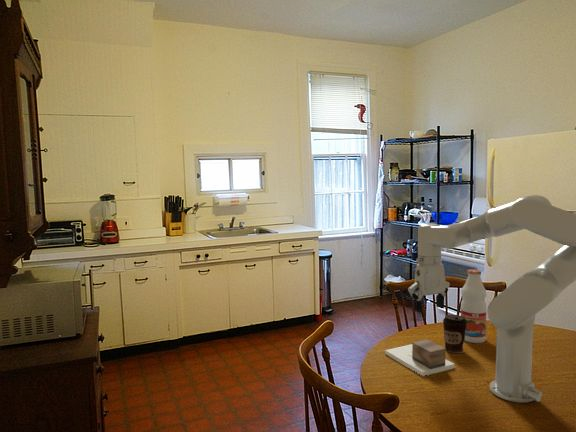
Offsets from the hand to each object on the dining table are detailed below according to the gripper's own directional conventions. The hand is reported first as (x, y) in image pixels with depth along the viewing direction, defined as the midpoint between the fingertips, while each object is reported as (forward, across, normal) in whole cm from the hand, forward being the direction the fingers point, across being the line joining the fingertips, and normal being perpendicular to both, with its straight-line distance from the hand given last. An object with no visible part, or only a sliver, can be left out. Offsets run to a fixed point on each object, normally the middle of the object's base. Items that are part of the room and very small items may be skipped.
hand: (429, 309), depth 147 cm
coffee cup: (+20, +18, +6) cm, 28 cm away
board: (+20, 0, +5) cm, 21 cm away
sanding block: (+19, 0, 0) cm, 19 cm away
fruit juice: (+20, +33, +11) cm, 40 cm away
